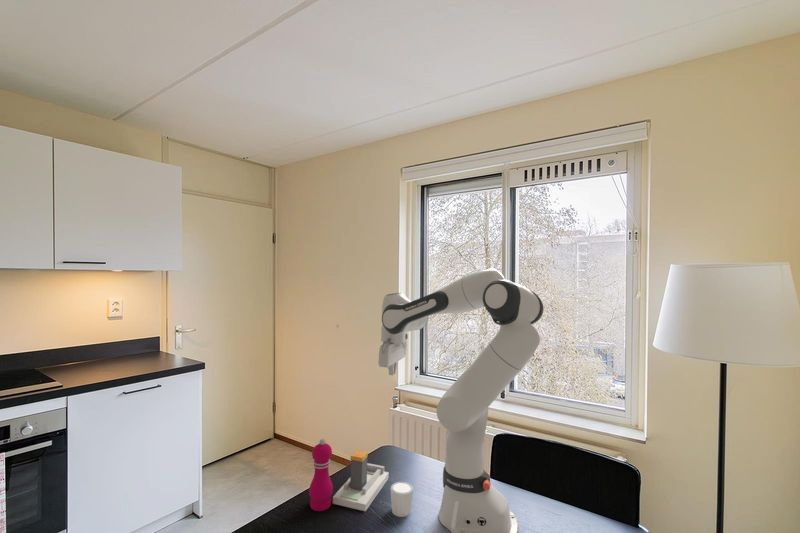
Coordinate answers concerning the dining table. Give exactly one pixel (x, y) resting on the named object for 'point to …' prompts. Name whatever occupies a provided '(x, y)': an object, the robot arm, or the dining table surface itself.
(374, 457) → the dining table surface
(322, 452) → the pepper mill
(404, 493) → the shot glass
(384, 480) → the white slider switch base
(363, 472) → the plate
